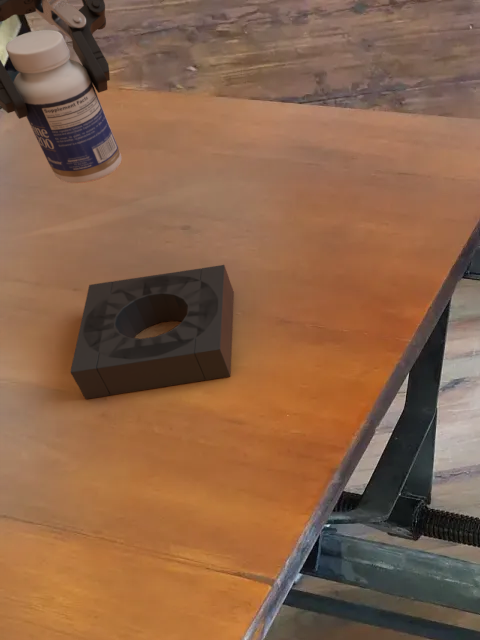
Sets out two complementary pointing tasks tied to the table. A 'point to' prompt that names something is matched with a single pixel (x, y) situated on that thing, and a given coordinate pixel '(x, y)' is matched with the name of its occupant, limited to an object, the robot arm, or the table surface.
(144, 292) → the socket plate
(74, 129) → the pill bottle
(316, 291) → the table surface
